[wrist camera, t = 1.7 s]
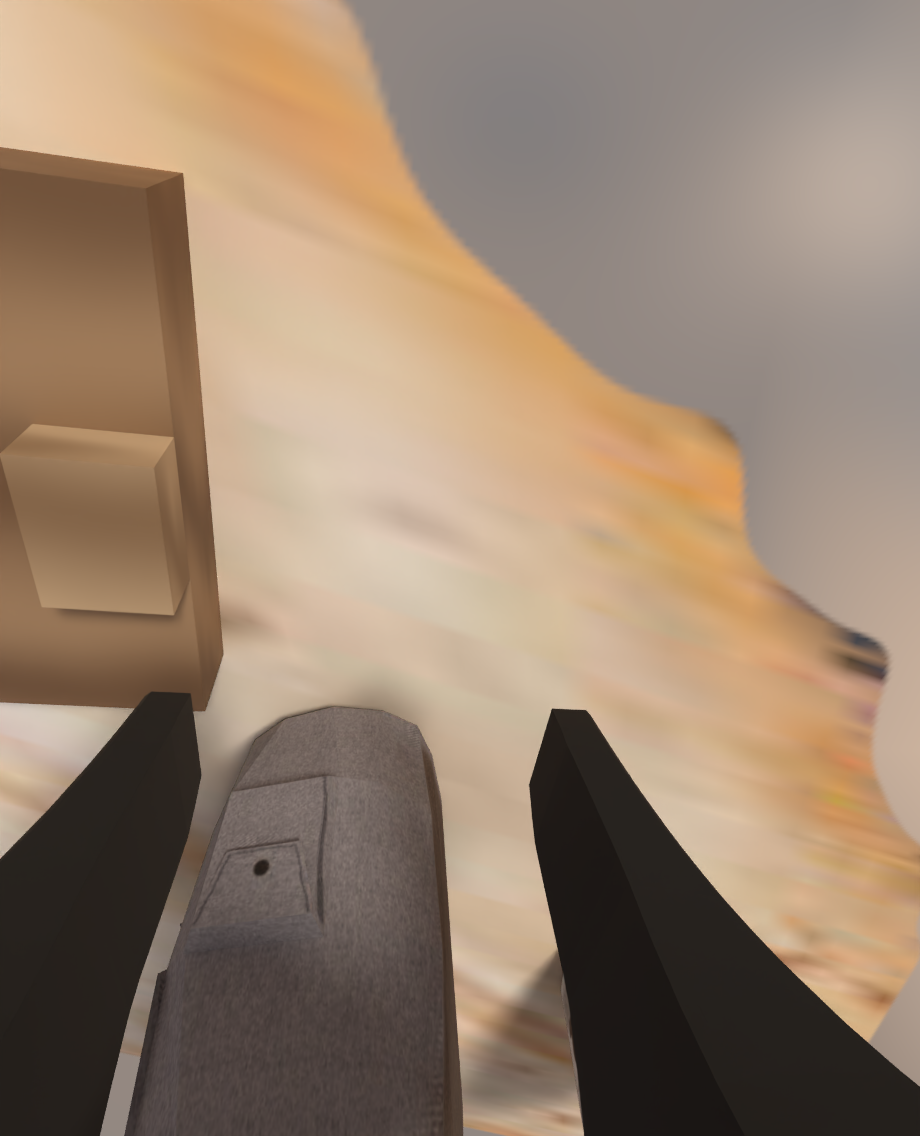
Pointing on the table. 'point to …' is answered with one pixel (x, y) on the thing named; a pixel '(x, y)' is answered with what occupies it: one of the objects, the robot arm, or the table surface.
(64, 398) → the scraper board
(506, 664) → the table surface
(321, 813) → the grey rounded bag
